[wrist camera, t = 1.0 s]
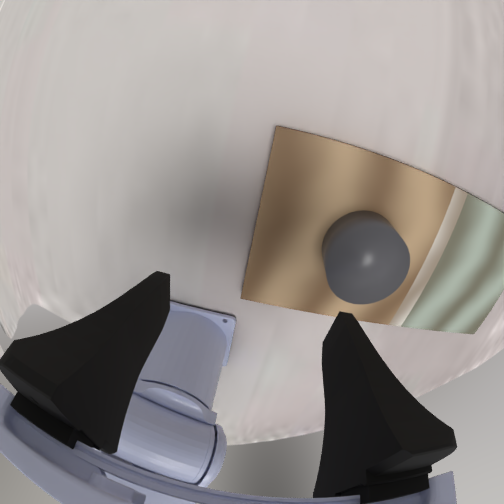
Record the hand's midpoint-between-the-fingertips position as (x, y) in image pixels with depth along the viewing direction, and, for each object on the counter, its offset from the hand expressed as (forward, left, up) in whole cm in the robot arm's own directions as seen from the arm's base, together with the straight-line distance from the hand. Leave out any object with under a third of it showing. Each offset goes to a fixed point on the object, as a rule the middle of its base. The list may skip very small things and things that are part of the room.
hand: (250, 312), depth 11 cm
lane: (+13, 0, -10) cm, 17 cm away
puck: (+7, 0, -9) cm, 12 cm away
